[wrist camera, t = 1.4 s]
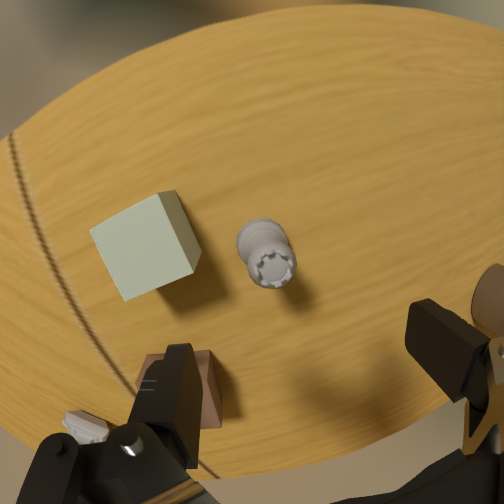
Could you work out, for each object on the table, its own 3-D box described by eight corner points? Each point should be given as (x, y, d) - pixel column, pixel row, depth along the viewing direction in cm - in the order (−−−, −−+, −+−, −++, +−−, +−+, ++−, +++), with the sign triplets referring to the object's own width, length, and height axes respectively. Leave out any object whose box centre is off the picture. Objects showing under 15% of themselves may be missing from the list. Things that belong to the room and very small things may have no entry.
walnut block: (209, 349, 28) (206, 380, 23) (221, 396, 29) (221, 427, 25) (147, 354, 27) (135, 383, 22) (165, 399, 29) (158, 429, 24)
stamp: (70, 422, 30) (51, 459, 22) (65, 397, 29) (42, 436, 21) (121, 443, 31) (109, 484, 23) (121, 420, 30) (105, 465, 22)
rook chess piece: (263, 275, 26) (276, 315, 18) (225, 245, 25) (223, 275, 17) (295, 238, 25) (323, 265, 18) (258, 206, 24) (271, 219, 17)
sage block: (174, 189, 23) (157, 193, 18) (202, 251, 25) (193, 272, 19) (118, 217, 24) (89, 229, 18) (145, 275, 25) (124, 301, 19)
